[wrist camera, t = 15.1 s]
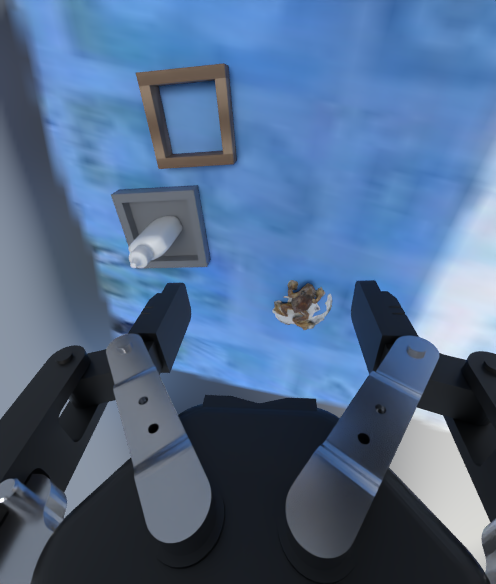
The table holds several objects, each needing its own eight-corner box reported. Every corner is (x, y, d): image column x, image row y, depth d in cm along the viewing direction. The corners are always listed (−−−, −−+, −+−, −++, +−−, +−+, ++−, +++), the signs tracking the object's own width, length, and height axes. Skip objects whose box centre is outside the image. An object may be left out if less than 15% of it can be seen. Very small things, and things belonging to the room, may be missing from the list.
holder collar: (146, 74, 33) (135, 72, 31) (228, 65, 32) (224, 63, 30) (166, 164, 39) (158, 168, 37) (236, 159, 38) (233, 164, 35)
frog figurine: (275, 266, 47) (274, 278, 44) (343, 281, 48) (347, 294, 45) (259, 316, 54) (258, 330, 51) (319, 329, 55) (322, 344, 51)
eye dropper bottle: (183, 242, 45) (157, 284, 35) (148, 237, 45) (113, 276, 35) (183, 216, 43) (155, 253, 33) (146, 210, 43) (107, 245, 33)
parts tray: (119, 189, 42) (110, 194, 40) (197, 185, 40) (193, 190, 38) (142, 261, 49) (136, 268, 46) (210, 259, 47) (207, 266, 45)
